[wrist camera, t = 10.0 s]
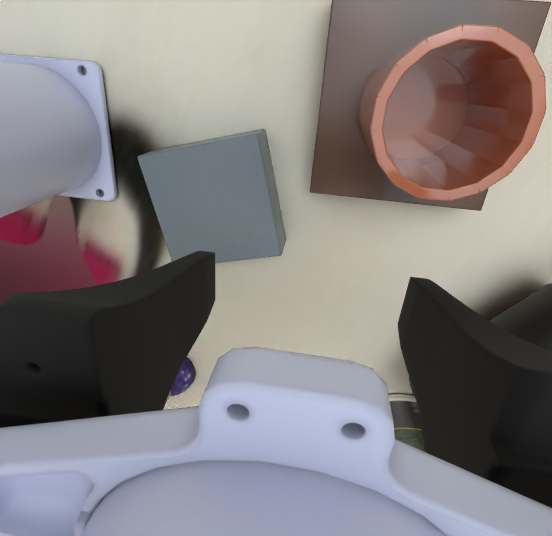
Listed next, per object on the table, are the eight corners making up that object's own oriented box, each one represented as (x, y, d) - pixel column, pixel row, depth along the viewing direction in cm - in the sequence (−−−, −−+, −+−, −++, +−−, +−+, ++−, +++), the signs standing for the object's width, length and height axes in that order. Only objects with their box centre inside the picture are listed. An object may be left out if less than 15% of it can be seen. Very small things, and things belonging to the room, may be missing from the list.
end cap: (530, 260, 23) (602, 323, 16) (593, 331, 24) (681, 413, 18) (398, 347, 27) (417, 423, 21) (459, 403, 28) (494, 489, 22)
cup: (350, 159, 19) (359, 192, 13) (369, 42, 17) (389, 19, 11) (454, 170, 18) (510, 208, 13) (488, 50, 16) (576, 31, 10)
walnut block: (311, 181, 22) (309, 192, 20) (333, 0, 18) (333, -12, 16) (465, 198, 21) (481, 211, 19) (523, 12, 17) (552, 1, 15)
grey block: (187, 252, 26) (174, 268, 23) (155, 149, 23) (136, 156, 20) (286, 240, 24) (281, 255, 22) (265, 128, 21) (257, 133, 19)
